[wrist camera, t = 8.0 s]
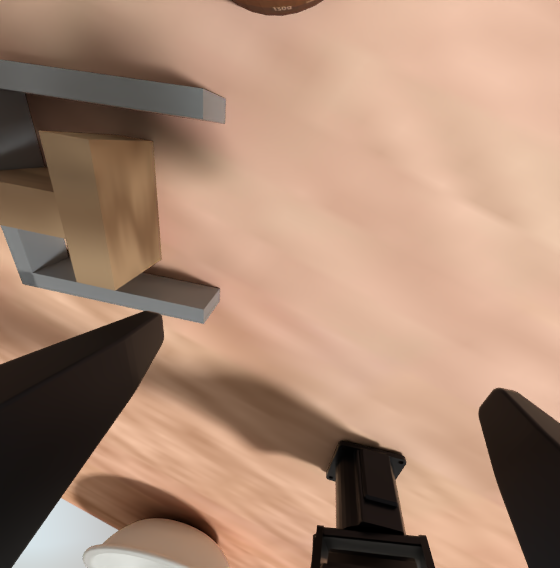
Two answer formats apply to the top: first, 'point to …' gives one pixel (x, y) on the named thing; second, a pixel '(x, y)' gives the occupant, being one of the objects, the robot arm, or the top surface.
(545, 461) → the robot arm
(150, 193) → the wooden t-shaped block
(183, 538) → the soup bowl
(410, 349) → the top surface
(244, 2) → the food container
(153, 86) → the corral
